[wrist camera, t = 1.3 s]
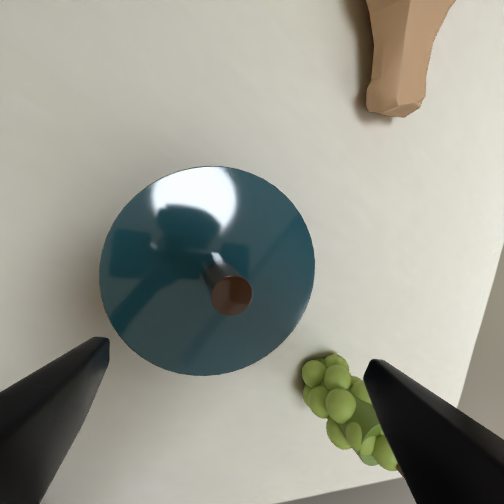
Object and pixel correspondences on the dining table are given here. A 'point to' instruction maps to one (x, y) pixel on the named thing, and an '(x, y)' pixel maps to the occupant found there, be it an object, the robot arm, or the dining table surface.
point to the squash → (402, 52)
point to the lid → (206, 270)
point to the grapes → (346, 410)
